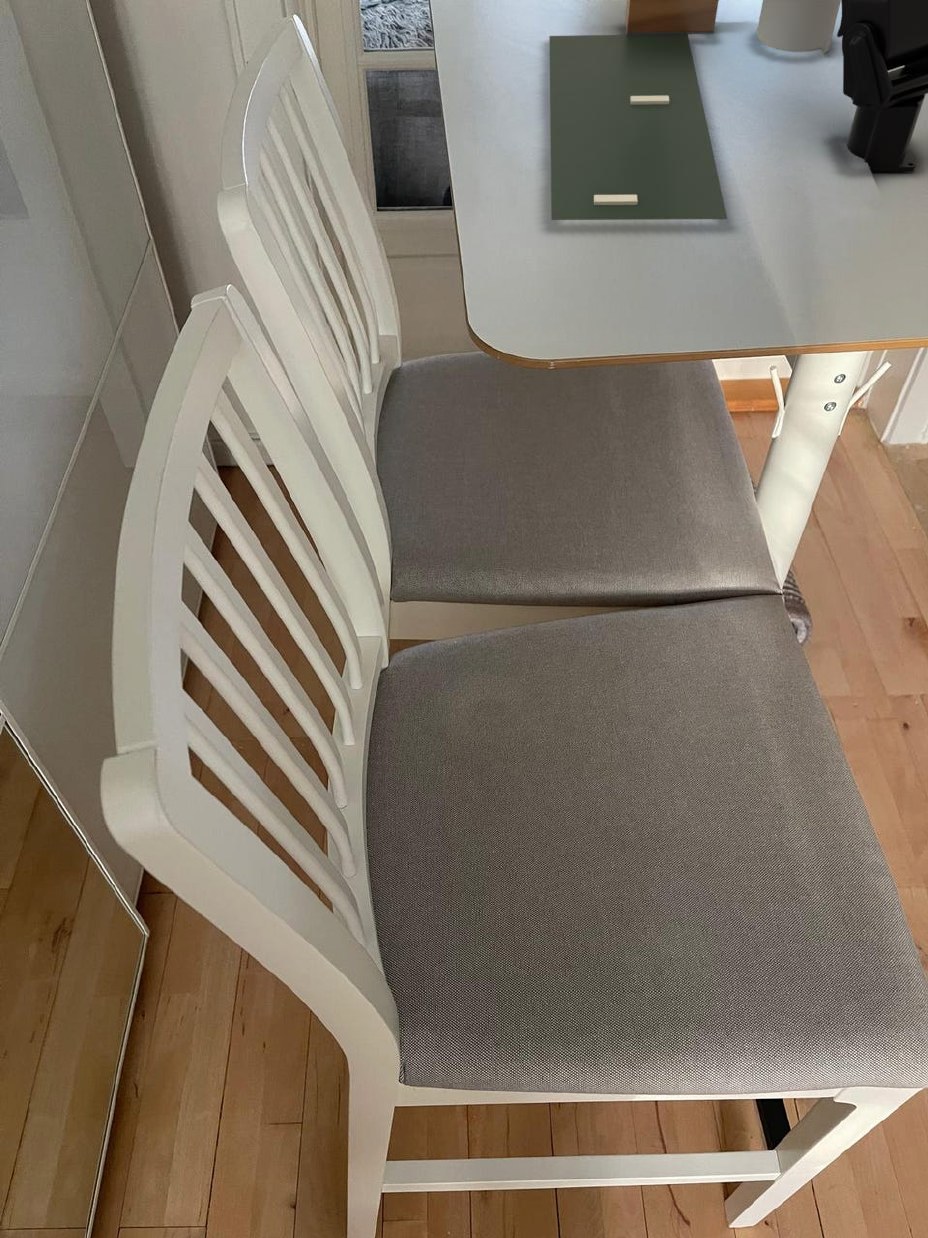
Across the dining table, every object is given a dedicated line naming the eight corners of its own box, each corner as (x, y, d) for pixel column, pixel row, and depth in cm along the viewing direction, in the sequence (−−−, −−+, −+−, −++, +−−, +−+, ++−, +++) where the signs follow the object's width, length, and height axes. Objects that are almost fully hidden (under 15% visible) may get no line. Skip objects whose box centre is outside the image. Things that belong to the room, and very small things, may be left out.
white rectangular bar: (637, 205, 91) (637, 201, 91) (594, 205, 92) (594, 201, 91) (636, 198, 92) (637, 194, 92) (593, 198, 92) (594, 194, 92)
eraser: (712, 42, 115) (719, -6, 111) (625, 43, 115) (630, -5, 111) (708, 27, 117) (715, -20, 113) (624, 29, 118) (628, -18, 114)
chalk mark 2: (669, 104, 103) (669, 100, 103) (630, 104, 104) (631, 100, 103) (668, 98, 104) (668, 95, 104) (630, 99, 104) (630, 95, 104)
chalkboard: (725, 228, 90) (727, 218, 89) (550, 229, 91) (551, 219, 90) (686, 42, 115) (687, 33, 114) (549, 44, 116) (549, 35, 115)
